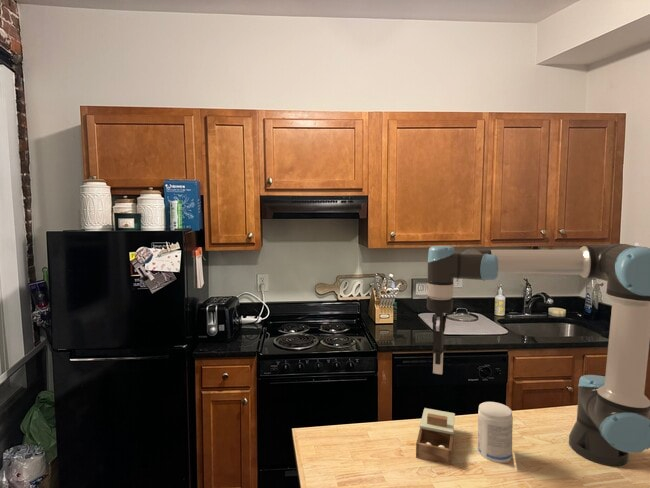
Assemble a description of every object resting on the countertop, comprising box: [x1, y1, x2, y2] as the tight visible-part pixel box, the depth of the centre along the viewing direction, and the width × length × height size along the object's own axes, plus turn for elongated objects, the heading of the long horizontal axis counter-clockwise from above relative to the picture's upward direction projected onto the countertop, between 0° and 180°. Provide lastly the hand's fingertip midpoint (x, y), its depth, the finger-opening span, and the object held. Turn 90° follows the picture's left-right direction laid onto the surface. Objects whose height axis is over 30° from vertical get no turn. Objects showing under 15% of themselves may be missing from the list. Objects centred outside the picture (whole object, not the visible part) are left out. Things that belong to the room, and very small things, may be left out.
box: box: [415, 427, 454, 466], centre depth 120 cm, size 10×12×5 cm
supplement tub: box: [477, 401, 514, 464], centre depth 119 cm, size 10×10×15 cm
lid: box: [419, 407, 456, 436], centre depth 128 cm, size 10×12×3 cm
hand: (437, 372), depth 120 cm, fingers closed
